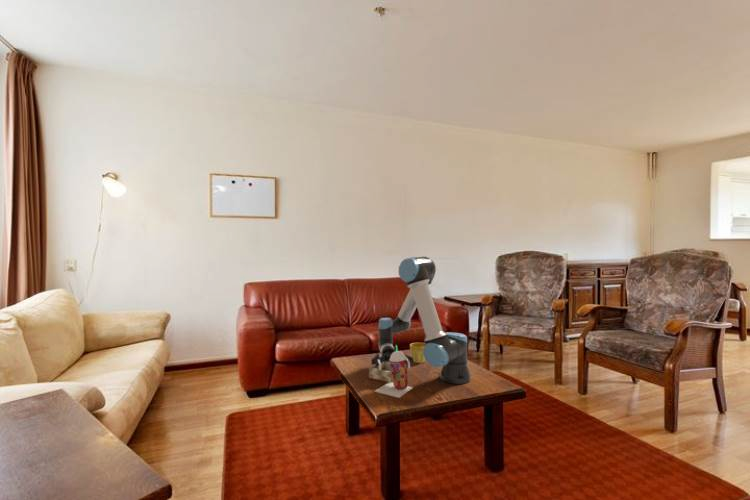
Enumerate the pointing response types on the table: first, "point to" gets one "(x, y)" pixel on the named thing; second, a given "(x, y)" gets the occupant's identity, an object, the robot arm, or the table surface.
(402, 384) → the smoothie
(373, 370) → the holder
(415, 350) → the plant pot
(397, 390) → the mat
